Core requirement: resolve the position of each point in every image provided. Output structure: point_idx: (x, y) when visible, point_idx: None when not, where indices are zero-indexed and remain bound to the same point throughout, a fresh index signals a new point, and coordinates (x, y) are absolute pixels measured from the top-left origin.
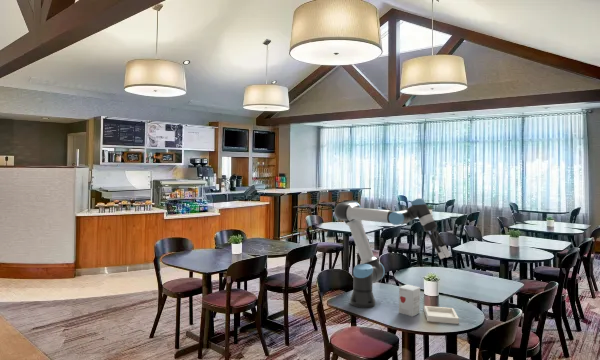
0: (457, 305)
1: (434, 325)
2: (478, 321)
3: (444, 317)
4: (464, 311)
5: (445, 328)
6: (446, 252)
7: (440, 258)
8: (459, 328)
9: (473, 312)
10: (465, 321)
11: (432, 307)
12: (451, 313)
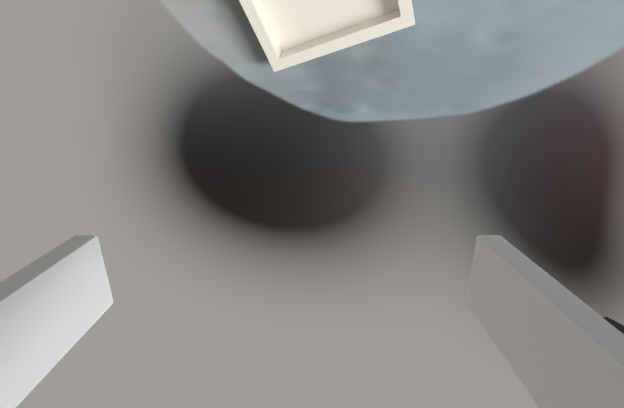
0: (573, 11)
1: None
2: (354, 121)
3: (242, 6)
4: (466, 60)
5: (187, 16)
6: (512, 326)
7: (68, 243)
8: (233, 68)
9: (464, 97)
10: (326, 80)
11: None
12: (377, 13)
